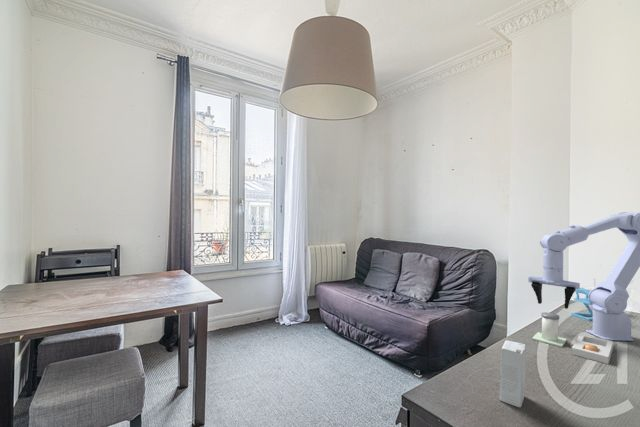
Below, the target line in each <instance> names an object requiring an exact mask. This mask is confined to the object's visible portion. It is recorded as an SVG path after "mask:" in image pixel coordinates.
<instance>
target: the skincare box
mask: <svg viewBox="0 0 640 427" xmlns="http://www.w3.org/2000/svg"><path fill="white" fill-rule="evenodd" d="M500 352H501V353H500V371H499V372H500V376H499V401H501V402H503V403H505V404H508V405H511V406H514V407H517V408H522V405H523V403H524V398H525V395H526V362H527V345H526V344H525V343H520V342H517V341H512V340H507V339H505V341H504V343H503V345H502V347H501V348H500Z"/></svg>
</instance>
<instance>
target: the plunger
mask: <svg viewBox="0 0 640 427" xmlns="http://www.w3.org/2000/svg"><path fill="white" fill-rule="evenodd" d="M585 349H587V350H591V351H594V352H597V346H594V345H591V344H585Z"/></svg>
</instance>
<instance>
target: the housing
mask: <svg viewBox="0 0 640 427" xmlns="http://www.w3.org/2000/svg"><path fill="white" fill-rule="evenodd" d="M585 344H591V345H594V346H597V352H594V351H591V350H587V349H585ZM613 350H614V340H605V339H601V338H599V337H597V336H596V337H595V336H593V335H587V334H583V333H580V334H579V335H578V337H577V338H576V340H575V342H574V344H573V345H572V347H571V355H573V356H577V357H581V358H583V359H584V358H585V359H588V360H592V361H596V362H599V363H603V364H605V365H606V364H607V365H610V364H609V363H610V360H611V357H612V354H613Z"/></svg>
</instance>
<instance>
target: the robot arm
mask: <svg viewBox="0 0 640 427" xmlns="http://www.w3.org/2000/svg"><path fill="white" fill-rule="evenodd" d="M615 228H617V229H618V231H620V232H621V233H622V234H623V235H624V236H626V238H627V239H628V243H627V245H626V246H625V248H624V250H623V251H622V253H621V255H620V257H619V258H618V259H617V261H616V262H615V265H614V266H613V268H612V270H611V271H610V273H609V274H608V276H607V277H606V279H605V280H604V281H602V282H600V283H598V284H597V285H596V286H595V288H594V289H593V290H591V291H590V292H589V294H588V298H589V301H590V302H591V303H592V304H593V305H592V307H593V311H592V312H593V316H592V317H593V321H592V329H586V330H585V331H586V333H589V334H591V335H592V336H594V337H595V336H596V338H601V339H605V340H610V341H624V342H625V341H627V342H628V341H630V342H632V341H633V342H634V338H632V320H631V317H630V315H629V314H628V313H626V311H625V310H626V309H627V307H628V299H629V298H630V294H629V292H628V290H627V288H628V286H629V285H630V283H631V282H632V280H633V278H634V276H635V275H636V273H637V272H638V270H639V269H640V212H619V213H617V214H612V215H610V216H606V217H605V218H602V219H599V220H597V221H594V222H592V223H589V224H587V225H585V226H581V225H577V224H576V225H575V224H571V225H568V228H565V229H562V230H556V231H554V234H551V233H548V234H545V235H543V236H542V238H541V240H540V241H539V244H540V246H541V247H542V248H543V249H542V250H543V251H542V252H543V253H542V254H543V255H542V256H543V258H542V263H543V264H542V270H543V271H542V275H543V276H542V277H539V276H538V277H537V276H528V283H531V288H532V289H533V290H532V291H534V294H535V296H536V300H537V304H539V305H540V304H542V303H543V297H542V296H543V295H542V292H543V285H549V286H556V287H562V288H564V309H565V310H567V309H569V305H570V302H571V300H572V297H573V295H574V293H576V292H575V290H576V289H580V288H581V286H580V284H581V283H580V282H574V281H569V280H565V279H564V251H565V250H566V249H567V248H568V247H569V246H572V245H575V244H579V243H581V242H582V243H583V242H584V241H585V242H586V241H587V239H588V238H589V236H591V235H594V234H595V235H596V234H598V233H600V232H604V231H607V230H611V229H615Z"/></svg>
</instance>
